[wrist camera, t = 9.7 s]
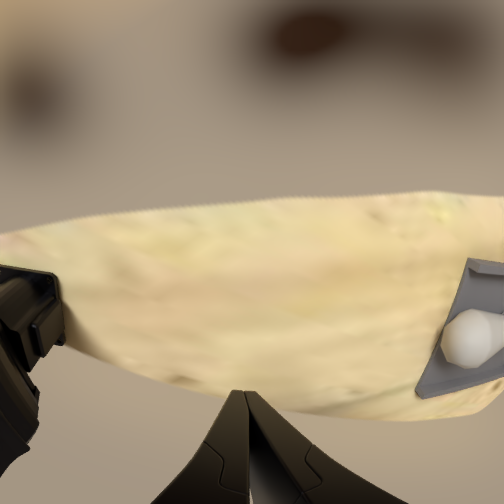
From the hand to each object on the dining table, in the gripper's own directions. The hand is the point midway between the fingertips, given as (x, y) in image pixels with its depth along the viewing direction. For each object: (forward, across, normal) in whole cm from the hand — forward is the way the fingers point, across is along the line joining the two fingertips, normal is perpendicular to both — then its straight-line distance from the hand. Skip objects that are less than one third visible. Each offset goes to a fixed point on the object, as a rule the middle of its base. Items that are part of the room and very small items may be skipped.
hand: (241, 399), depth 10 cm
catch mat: (+13, +31, -4) cm, 33 cm away
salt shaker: (+9, +20, -4) cm, 22 cm away
